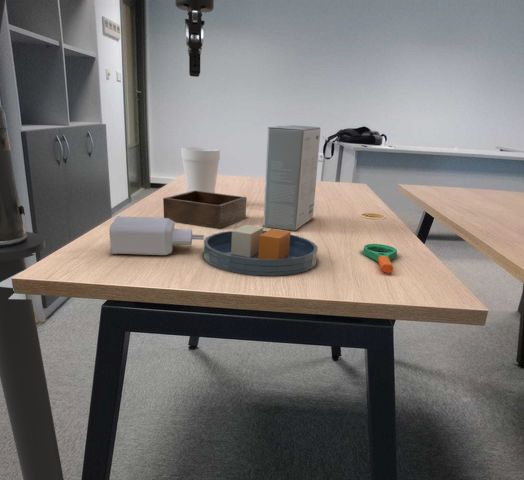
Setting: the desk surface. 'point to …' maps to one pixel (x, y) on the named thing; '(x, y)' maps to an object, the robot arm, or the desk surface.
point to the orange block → (274, 244)
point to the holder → (205, 208)
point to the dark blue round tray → (221, 257)
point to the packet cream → (246, 240)
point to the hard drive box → (290, 176)
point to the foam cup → (200, 168)
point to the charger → (147, 236)
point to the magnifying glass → (381, 255)
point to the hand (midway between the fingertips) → (194, 75)
